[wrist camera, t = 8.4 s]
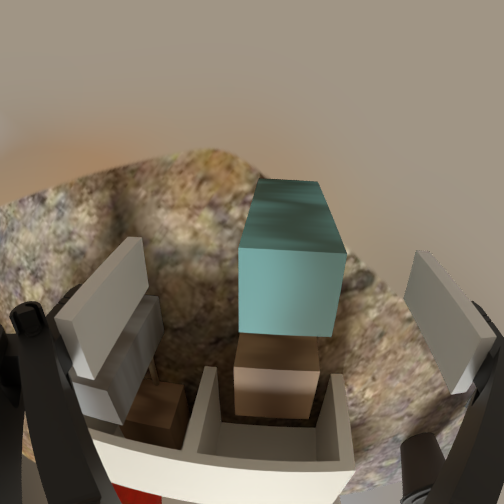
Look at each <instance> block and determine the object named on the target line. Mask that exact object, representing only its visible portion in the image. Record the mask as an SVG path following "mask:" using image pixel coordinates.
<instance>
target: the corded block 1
mask: <svg viewBox="0 0 504 504" xmlns="http://www.w3.org/2000/svg"><path fill="white" fill-rule="evenodd" d="M163 334H164V326H163V320H162V315H161V309H160V302H159V296H150V295H144V296H143V297H142V299H141V300H140V302H139V304H138V305H137V307H136V309H135V310H134V312H133V314H132V315H131V317H130V319H129V320H128V322H127V324H126V325H125V327H124V329H123V330H122V332H121V334H120V336H119V337H118V339H117V341H116V342H115V344H114V346H113V348H112V349H111V351H110V353H109V355H108V356H107V358H106V360H105V362H104V363H103V365H102V367H101V369H100V371H99V372H98V374H97V376H96V378H95V380H92V379H88V378H84V377H80V376H77V374H76V371H75V369H74V367H73V365H72V367H71V368H70V370H69V372H68V373H69V375H70V377H71V380H72V383H73V386H74V389H75V393H76V396H77V399H78V402H79V405H80V408H81V411H82V413H83V414H84V415H87V416H90V417H94V418H97V419H100V420H104V421H108V422H111V423H115V424H118V425H119V427H120V429H121V431H122V433H123V435H124V437H125V438H126V439H130V440H134V441H138V442H142V443H146V444H151V445H156V446H160V447H165V448H170V449H176V450H181V448H182V444H183V440H184V436H185V433H186V429H187V425H188V422H189V418H190V413H189V408H188V404H187V399H186V394H185V389H184V385H180V384H174V383H167V382H161V381H159V379H158V375H157V371H156V367H155V363H154V359H153V356H154V353H155V351H156V349H157V347H158V345H159V342H160V340H161V338H162V336H163ZM148 367H149V370H150V373H151V377H152V380H149V379H144V376H145V373H146V371H147V369H148Z"/></svg>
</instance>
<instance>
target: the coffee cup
mask: <svg viewBox="0 0 504 504" xmlns="http://www.w3.org/2000/svg"><path fill="white" fill-rule="evenodd" d="M400 450H401V464H402V483H403V498H402V499H401V500H400V503H401V504H423V503H424V501H425V499H426V497H427V496H428V494H429V492H430V490H431V488H432V486H433V485H434V483H435V481H436V479H437V477H438V475H439V473H440V471H441V469H442V467H443V465H444V463H445V461H446V460H445V458H444V456H443V453H442V451H441V449H440V447H439V444H438V442H437V440H436V438H435V436H434V434H432V433H422V434H419V435H416V436H413V437H411V438H409V439H408V440H406V441H405V442H404V443H403V444H402V445H401V447H400Z"/></svg>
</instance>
